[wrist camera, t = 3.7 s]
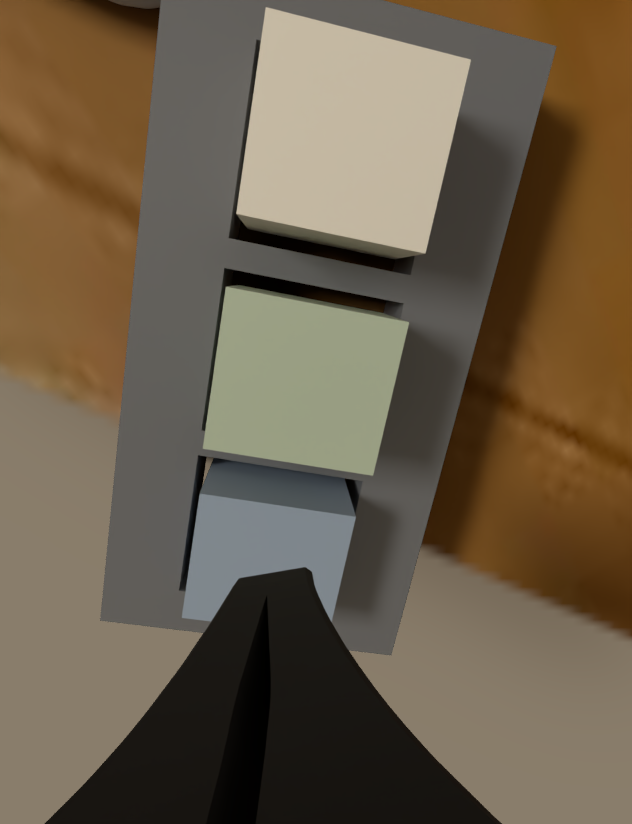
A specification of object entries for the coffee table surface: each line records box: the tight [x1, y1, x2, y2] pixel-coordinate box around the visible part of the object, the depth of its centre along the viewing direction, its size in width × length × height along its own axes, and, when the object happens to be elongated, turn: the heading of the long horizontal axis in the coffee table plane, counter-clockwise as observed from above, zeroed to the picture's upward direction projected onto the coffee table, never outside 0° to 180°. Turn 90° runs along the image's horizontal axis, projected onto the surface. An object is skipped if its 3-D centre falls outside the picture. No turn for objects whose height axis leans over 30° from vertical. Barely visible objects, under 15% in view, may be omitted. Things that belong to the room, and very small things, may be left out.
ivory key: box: [236, 7, 471, 259], centre depth 12 cm, size 4×4×4 cm
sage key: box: [203, 285, 409, 476], centre depth 14 cm, size 4×4×4 cm
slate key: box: [182, 458, 356, 622], centre depth 16 cm, size 4×4×4 cm
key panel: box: [100, 0, 556, 655], centre depth 16 cm, size 10×19×3 cm, turn 169°
